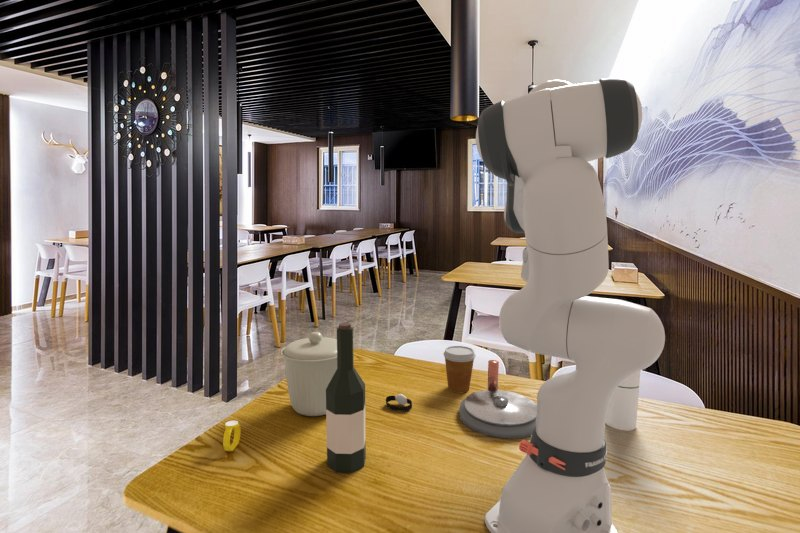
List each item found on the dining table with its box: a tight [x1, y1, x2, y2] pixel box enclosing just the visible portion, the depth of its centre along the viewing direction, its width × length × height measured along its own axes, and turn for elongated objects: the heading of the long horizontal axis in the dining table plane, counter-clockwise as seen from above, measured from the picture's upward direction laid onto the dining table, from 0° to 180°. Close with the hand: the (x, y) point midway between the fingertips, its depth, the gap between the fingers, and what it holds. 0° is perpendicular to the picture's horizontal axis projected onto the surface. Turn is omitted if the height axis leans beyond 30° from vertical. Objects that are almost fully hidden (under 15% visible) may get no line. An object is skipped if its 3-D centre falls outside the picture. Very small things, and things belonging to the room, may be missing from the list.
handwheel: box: [464, 359, 537, 427], centre depth 110 cm, size 19×18×10 cm
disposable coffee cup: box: [443, 345, 476, 394], centre depth 128 cm, size 10×10×12 cm
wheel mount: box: [459, 398, 536, 440], centre depth 110 cm, size 21×21×2 cm
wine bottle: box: [325, 322, 367, 474], centre depth 89 cm, size 8×8×30 cm
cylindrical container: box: [605, 370, 641, 431], centre depth 106 cm, size 7×7×25 cm
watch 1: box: [222, 420, 242, 452], centre depth 96 cm, size 6×3×6 cm, turn 177°
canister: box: [280, 331, 337, 417], centre depth 114 cm, size 18×18×21 cm
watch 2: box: [385, 393, 413, 412], centre depth 116 cm, size 8×5×4 cm, turn 64°
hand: (560, 299), depth 107 cm, fingers open, 8 cm apart
